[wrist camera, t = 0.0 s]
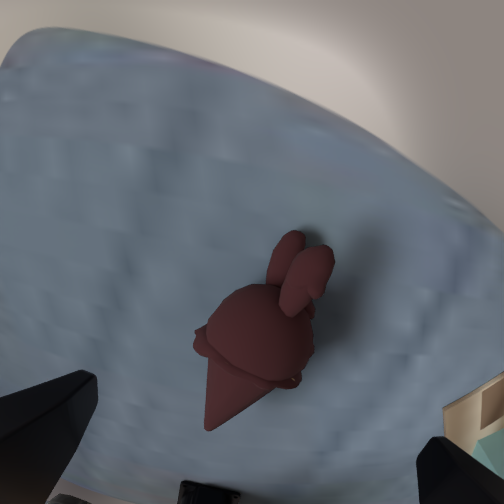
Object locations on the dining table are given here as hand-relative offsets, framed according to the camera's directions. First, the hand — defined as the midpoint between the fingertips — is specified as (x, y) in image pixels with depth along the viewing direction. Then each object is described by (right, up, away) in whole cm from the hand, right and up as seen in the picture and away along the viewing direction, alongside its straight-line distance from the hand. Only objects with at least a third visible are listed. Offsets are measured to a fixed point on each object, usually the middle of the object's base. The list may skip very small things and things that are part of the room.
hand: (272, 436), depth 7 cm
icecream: (0, -1, +16) cm, 16 cm away
